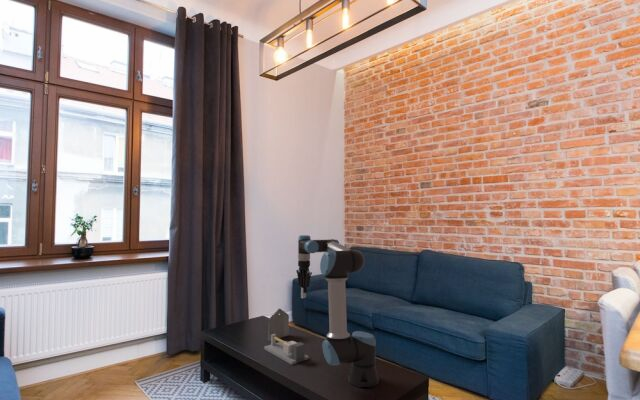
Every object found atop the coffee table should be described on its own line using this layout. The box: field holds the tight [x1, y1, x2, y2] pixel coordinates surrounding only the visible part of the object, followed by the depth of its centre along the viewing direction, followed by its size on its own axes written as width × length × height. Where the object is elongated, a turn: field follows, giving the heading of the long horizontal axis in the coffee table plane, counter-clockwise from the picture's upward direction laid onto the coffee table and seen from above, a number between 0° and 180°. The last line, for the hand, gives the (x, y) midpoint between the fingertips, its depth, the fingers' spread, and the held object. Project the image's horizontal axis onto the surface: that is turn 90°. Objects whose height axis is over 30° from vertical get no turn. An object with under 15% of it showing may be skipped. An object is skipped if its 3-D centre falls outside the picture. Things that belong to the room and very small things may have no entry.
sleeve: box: [283, 340, 297, 354], centre depth 204 cm, size 5×7×4 cm
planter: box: [267, 308, 290, 342], centre depth 237 cm, size 16×8×19 cm, turn 134°
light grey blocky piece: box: [263, 334, 310, 366], centre depth 209 cm, size 28×12×9 cm, turn 41°
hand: (303, 297), depth 223 cm, fingers closed
